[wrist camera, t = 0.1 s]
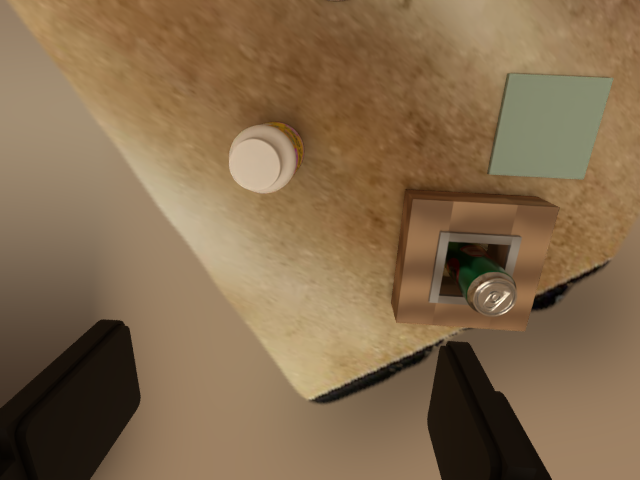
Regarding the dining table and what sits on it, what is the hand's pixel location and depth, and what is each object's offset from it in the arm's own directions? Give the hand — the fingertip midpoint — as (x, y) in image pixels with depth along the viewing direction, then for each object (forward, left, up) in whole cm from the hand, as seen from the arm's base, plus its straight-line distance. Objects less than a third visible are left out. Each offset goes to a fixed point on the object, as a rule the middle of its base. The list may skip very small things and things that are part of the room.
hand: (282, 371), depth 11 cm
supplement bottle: (-2, -6, -37) cm, 37 cm away
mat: (-6, +25, -37) cm, 45 cm away
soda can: (+10, +18, -37) cm, 42 cm away
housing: (+10, +18, -37) cm, 42 cm away
